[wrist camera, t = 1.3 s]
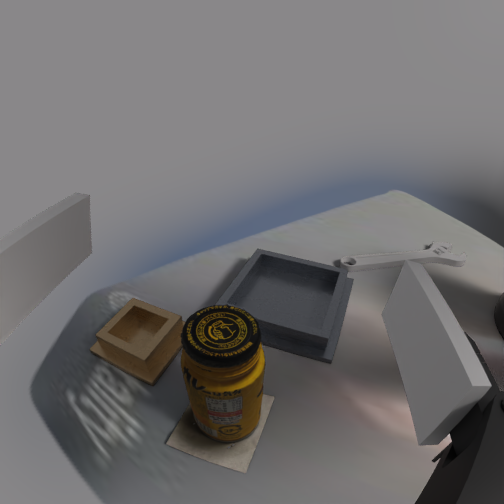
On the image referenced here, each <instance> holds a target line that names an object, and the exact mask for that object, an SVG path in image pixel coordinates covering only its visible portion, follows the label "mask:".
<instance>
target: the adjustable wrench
mask: <svg viewBox="0 0 504 504" xmlns="http://www.w3.org/2000/svg"><path fill="white" fill-rule="evenodd" d="M451 248H452V244H451V243H447V242H432V244H430V245H429V249H427V250H418V251H406V252H393V253H381V254H368V255H355V256H344V257H342V258H341V261H340V268H343V269H347V270H348V272H353V271H362V270H371V269H380V268H389V267H397V266H403V265H404V262H405V260H409V261H414V262H418V263H421V264H422V263H440V264H446V265H450V266H455V267H460V266H463V265H464V263H465V261H466V258H467V255H466V253H465V252H463V253H462V254H461V255H456V254H453V253H451V252H449V251H450V250H451ZM344 263H350V264H352V265H346V264H344Z"/></svg>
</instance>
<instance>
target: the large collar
mask: <svg viewBox="0 0 504 504" xmlns="http://www.w3.org/2000/svg"><path fill="white" fill-rule="evenodd" d="M347 273H348V270H347V269H343V268H339V267H334V266H330V265H326V264H321V263H317V262H313V261H309V260H304V259H300V258H296V257H291V256H287V255H283V254H278V253H274V252H270V251H265V250H261V249H257V250H256V251H255V253H254V254H253V255H252V257H251V258H250V259H249V261H248V262H247V263H246V265H245V266H244V267H243V269H242V270H241V271H240V273H239V274H238V275H237V276H236V278H235V279H234V280H233V282H232V283H231V284H230V286H229V287H228V288H227V290H226V291H225V292H224V294H223V295H222V296H221V298H220V299H219V300H218V302H217V303H216V304H215V305H226V304H227V305H229V306H234V307H237V308H241V309H243V310H245V311H247V312H248V313H250V314H251V315H252V316H253V317H254V318H255V319H256V320H257V321H258V323H259V328H260V330H261V344H264V345H267V346H270V347H274V348H277V349H280V350H284V351H287V352H291V353H294V354H298V355H301V356H305V357H308V358H312V359H316V360H320V361H323V362H327V363H331V362H332V359H333V356H334V352H335V349H336V345H337V342H338V338H339V335H340V331H341V327H342V324H343V320H344V316H345V312H346V308H347V304H348V300H349V296H350V292H351V288H352V284H353V280H354V279H351V278H347Z"/></svg>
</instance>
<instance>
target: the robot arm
mask: <svg viewBox="0 0 504 504" xmlns="http://www.w3.org/2000/svg"><path fill="white" fill-rule="evenodd" d="M91 253H92V243H91V223H90V195H86V194H80V193H74V194H73V195H71V196H69V197H67V198H66V199H64V200H62V201H60V202H59V203H57V204H55V205H53V206H52V207H50V208H48V209H46V210H45V211H43V212H42V213H40V214H38V215H36V216H35V217H33V218H32V219H30V220H28V221H27V222H25V223H24V224H22V225H21V226H19V227H18V228H16V229H14V230H13V231H11V232H10V233H8V234H7V235H5V236H4V237H2V238H1V239H0V346H1V344H2V343H3V342H4V341H5V340H6V339H7V338H8V337H9V335H10V334H11V333H12V332H13V331H14V330H15V329H16V328H17V327H18V326H19V325H20V323H21V322H22V321H23V320H24V319H25V318H26V317H27V316H28V315H29V314H30V313H31V312H32V311H33V310H34V309H35V308H36V307H37V306H38V305H39V304H40V303H41V301H42V300H43V299H44V298H45V297H46V296H47V295H48V294H49V293H50V292H51V291H52V290H53V289H54V288H55V287H56V286H57V285H58V284H60V282H62V281H63V279H65V278H66V277H67V276H68V275H69V274H70V273H71V272H72V271H73V270H74V269H75V268H76V267H77V266H78V265H80V264H81V263H82V262H83V261H84V260H85V259H86V258H87V257H88V256H89V255H90V254H91ZM382 317H383V320H384V323H385V326H386V329H387V332H388V335H389V338H390V341H391V345H392V348H393V351H394V354H395V357H396V361H397V364H398V367H399V371H400V374H401V378H402V381H403V385H404V388H405V392H406V396H407V399H408V403H409V407H410V411H411V415H412V419H413V423H414V427H415V431H416V436H417V440H418V444H419V445H436V444H439V443H440V442H441V441H442V440H443V439H444V438H445V437H446V436H447V435H448V434H449V433H450V436H451V440H452V442H451V443H450V444H449V445H448V446H447V447H446V448H445V449H444V450H443V451H441V452H440V453H439V454H438V455H437V456H436V457H435V458H434V459H433V460H432V461H433V462H436V461H437V460H438V459H439V458H441V459H440V461H439V462H438V464H437V466H436V468H435V470H434V472H433V474H432V475H431V477H430V479H429V481H428V482H427V484H426V486H425V488H424V489H423V491H422V493H421V494H420V496H419V498H418V499H417V501H416V502H415V504H504V392H502V391H501V392H500V391H499V388H498V386H497V384H496V382H495V380H494V378H493V376H492V374H491V372H490V370H489V368H488V366H487V364H486V363H484V362H485V361H484V359H483V357H482V355H480V351H479V349H478V348H477V346H476V344H475V342H474V341H473V340H472V339H471V338H470V337H469V336H468V335H467V334H466V333H465V332H463V330H462V328H461V326H460V325H459V323H458V321H457V319H456V318H455V316H454V314H453V313H452V311H451V309H450V308H449V306H448V304H447V303H446V301H445V299H444V298H443V296H442V295H441V293H440V291H439V290H438V288H437V287H436V285H435V284H434V282H433V280H432V279H431V277H430V276H429V274H428V273H427V271H426V270H425V268H424V267H423V265H422V264H421V263H418V262H414V261H409V260H405V262H404V265H403V267H402V270H401V272H400V274H399V277H398V279H397V281H396V284H395V286H394V288H393V291H392V293H391V295H390V297H389V300H388V302H387V304H386V306H385V308H384V310H383V312H382ZM495 321H496V324H497V327H498V329H499V331H500V333H501V335H502V337H503V338H504V293H503V294H502V296H501V297H500V299H499V301H498V303H497V305H496V307H495Z"/></svg>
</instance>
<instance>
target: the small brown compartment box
mask: <svg viewBox="0 0 504 504" xmlns="http://www.w3.org/2000/svg"><path fill="white" fill-rule="evenodd" d="M184 324H185V322H184V321H182V317H181V316H180V315H177V314H174V313H172V312H169V311H166V310H164V309H161V308H158V307H156V306H153V305H150V304H148V303H145V302H143V301H140V300H138V299H135V298H132V299H131V300H130V301H129V302H128V303H127V304H126V305H125V306H124V307H123V308H122V309H121V310H120V311H119V312H118V313H117V314H116V315H115V316H114V317H113V318H112V319H111V320H110V321H109V322H108V323H107V324H106V325H105V326H104V327H103V328H102V329H101V330H100V331H99V332H98V333H97V334H96V338H97V340H98V341H97V342H96V343H95V344H94V345H93V346H92V347H91V348H90V351H91V353H92V354H94V355H96V356H98V357H99V358H101V359H103V360H104V361H106V362H108V363H110V364H111V365H113V366H115V367H117V368H119V369H121V370H122V371H124V372H126V373H128V374H130V375H132V376H134V377H136V378H137V379H139V380H141V381H143V382H145V383H147V384H149V385H151V386H154V384H155V383H156V382H157V380H158V379H159V378H160V376H161V375H162V374H163V372H164V371H165V370H166V368H167V367H168V366H169V364H170V363H171V362H172V361H173V359H174V358H175V357H176V355H177V354H178V353H179V351H180V350H181V349H182V344H181V336H180V335H181V333H182V329H183V326H184Z"/></svg>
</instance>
